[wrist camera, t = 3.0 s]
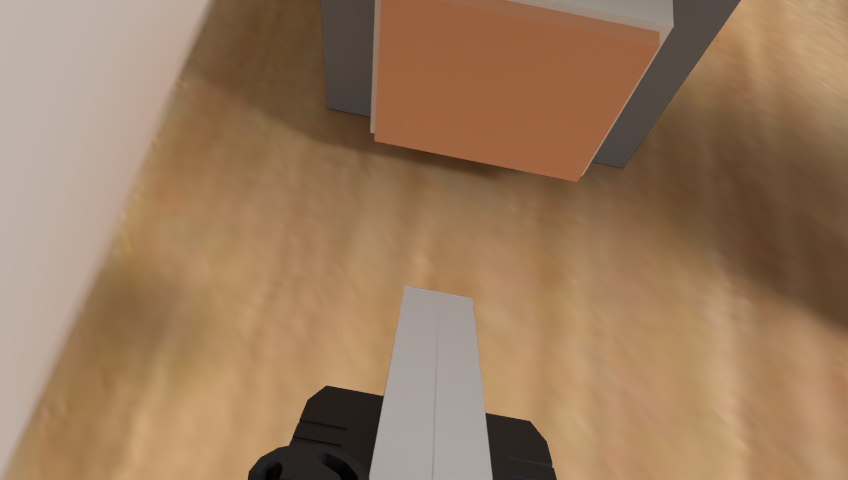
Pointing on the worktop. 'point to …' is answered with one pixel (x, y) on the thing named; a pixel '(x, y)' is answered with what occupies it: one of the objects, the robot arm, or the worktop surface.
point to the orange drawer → (510, 76)
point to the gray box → (687, 41)
